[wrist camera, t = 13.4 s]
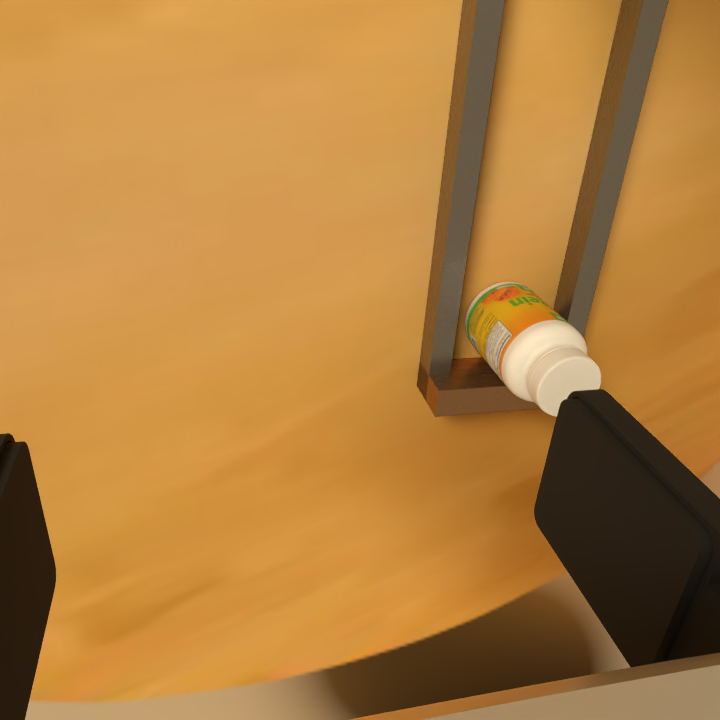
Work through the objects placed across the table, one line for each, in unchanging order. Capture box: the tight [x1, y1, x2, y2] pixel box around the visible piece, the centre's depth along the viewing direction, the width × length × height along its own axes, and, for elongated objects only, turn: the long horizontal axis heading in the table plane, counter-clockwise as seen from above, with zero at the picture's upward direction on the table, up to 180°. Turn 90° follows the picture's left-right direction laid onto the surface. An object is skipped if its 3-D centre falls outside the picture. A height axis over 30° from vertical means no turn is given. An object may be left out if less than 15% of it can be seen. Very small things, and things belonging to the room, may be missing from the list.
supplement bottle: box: [465, 282, 601, 417], centre depth 41 cm, size 5×5×10 cm
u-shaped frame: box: [417, 0, 668, 417], centre depth 39 cm, size 26×11×4 cm, turn 176°
